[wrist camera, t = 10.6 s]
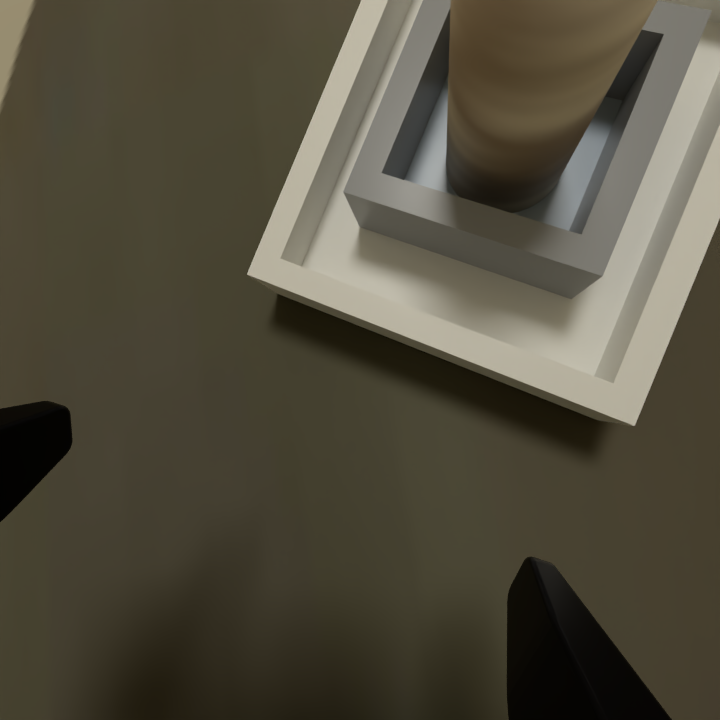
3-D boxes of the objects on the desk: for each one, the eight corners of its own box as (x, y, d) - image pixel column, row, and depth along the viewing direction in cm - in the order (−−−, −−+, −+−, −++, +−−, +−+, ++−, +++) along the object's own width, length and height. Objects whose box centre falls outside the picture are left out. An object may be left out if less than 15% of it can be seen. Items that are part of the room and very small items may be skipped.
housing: (757, 31, 16) (862, -90, 12) (597, 420, 16) (651, 428, 12) (414, -35, 19) (408, -150, 15) (277, 293, 19) (233, 266, 15)
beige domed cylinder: (591, 154, 15) (852, -261, 6) (501, 237, 16) (602, -20, 6) (506, 82, 16) (606, -386, 7) (422, 163, 17) (399, -168, 7)
